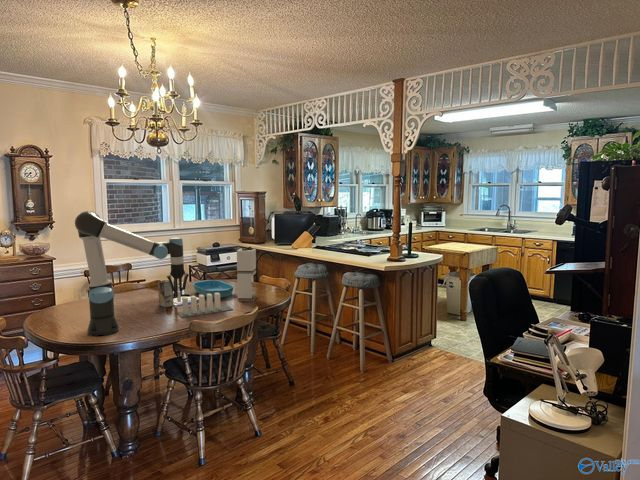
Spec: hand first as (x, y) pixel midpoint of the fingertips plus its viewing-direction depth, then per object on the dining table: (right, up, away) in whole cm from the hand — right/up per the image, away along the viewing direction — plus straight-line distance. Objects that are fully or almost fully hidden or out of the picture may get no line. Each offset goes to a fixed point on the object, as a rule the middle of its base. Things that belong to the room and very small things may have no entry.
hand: (179, 301), depth 257 cm
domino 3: (+12, -7, +8) cm, 16 cm away
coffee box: (-16, -6, +24) cm, 29 cm away
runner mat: (+13, -8, +9) cm, 18 cm away
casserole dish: (+7, -3, +54) cm, 55 cm away
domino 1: (+3, -8, +3) cm, 9 cm away
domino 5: (+20, -6, +13) cm, 25 cm away
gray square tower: (+35, -4, +39) cm, 53 cm away
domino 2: (+7, -7, +6) cm, 12 cm away
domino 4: (+16, -7, +11) cm, 20 cm away
